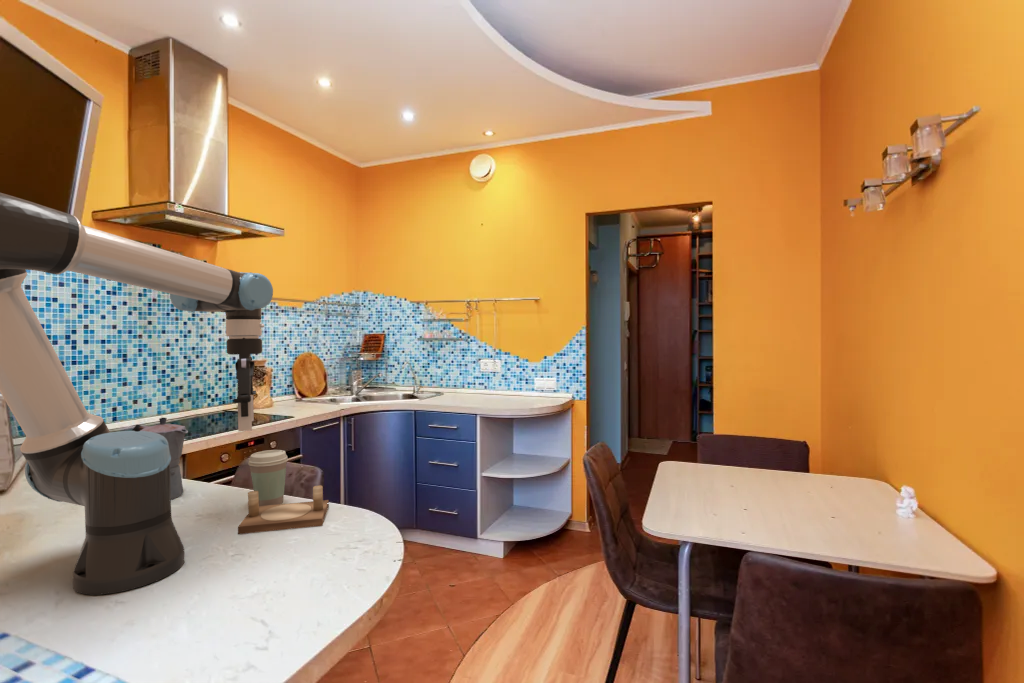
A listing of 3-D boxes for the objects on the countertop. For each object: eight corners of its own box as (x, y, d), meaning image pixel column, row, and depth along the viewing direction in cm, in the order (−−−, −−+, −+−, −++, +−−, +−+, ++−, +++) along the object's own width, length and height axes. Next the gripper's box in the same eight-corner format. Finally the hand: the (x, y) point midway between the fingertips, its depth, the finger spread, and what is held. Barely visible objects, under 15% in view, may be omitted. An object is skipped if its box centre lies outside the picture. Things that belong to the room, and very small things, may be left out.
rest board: (322, 525, 105) (321, 494, 105) (238, 534, 101) (237, 502, 101) (328, 506, 117) (328, 478, 117) (253, 513, 113) (252, 484, 113)
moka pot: (177, 503, 120) (174, 420, 120) (114, 504, 121) (111, 421, 120) (202, 490, 130) (200, 413, 129) (144, 491, 130) (141, 414, 130)
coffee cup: (296, 498, 123) (294, 449, 123) (276, 510, 115) (275, 458, 114) (263, 497, 124) (261, 449, 124) (241, 509, 115) (239, 457, 115)
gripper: (260, 337, 111) (263, 433, 111) (262, 337, 133) (264, 416, 134) (221, 338, 107) (224, 436, 108) (230, 337, 130) (232, 419, 130)
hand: (246, 426), depth 121 cm, fingers open, 13 cm apart
